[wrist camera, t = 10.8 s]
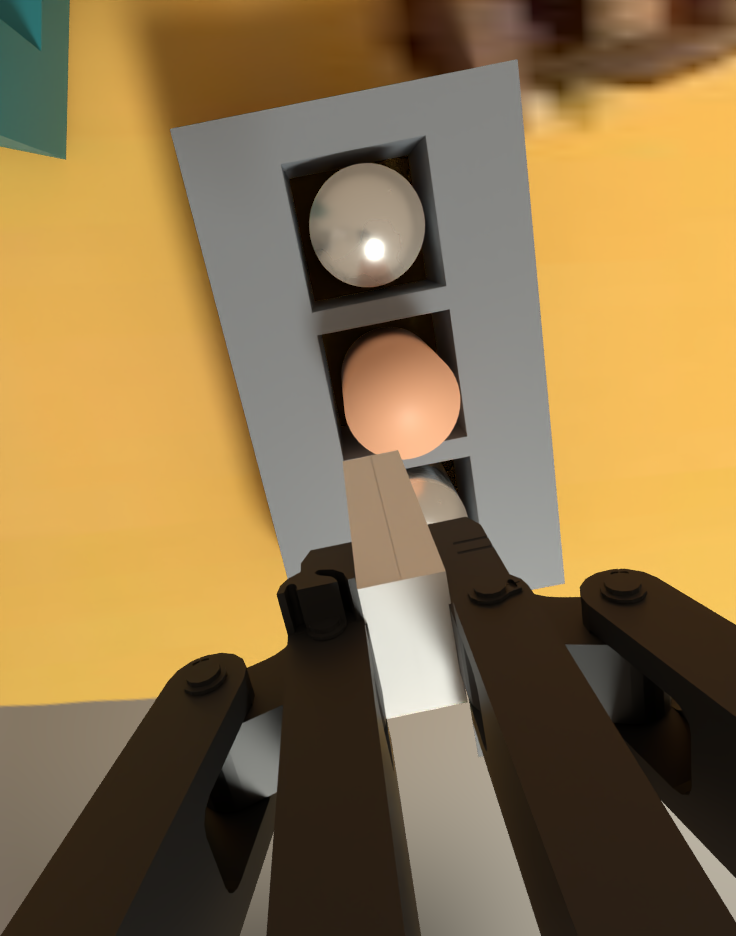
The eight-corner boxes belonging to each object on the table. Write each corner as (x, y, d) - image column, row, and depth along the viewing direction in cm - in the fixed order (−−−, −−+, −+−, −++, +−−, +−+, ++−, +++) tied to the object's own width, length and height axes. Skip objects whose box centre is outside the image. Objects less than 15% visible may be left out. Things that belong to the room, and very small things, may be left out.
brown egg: (351, 429, 33) (356, 469, 27) (332, 337, 31) (333, 358, 25) (442, 411, 32) (467, 447, 27) (428, 318, 31) (451, 334, 25)
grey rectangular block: (306, 577, 39) (302, 634, 33) (199, 150, 31) (169, 128, 25) (530, 534, 39) (564, 583, 33) (482, 94, 30) (517, 59, 25)
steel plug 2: (372, 527, 37) (380, 580, 32) (357, 452, 36) (362, 493, 30) (451, 512, 37) (474, 561, 32) (439, 436, 36) (461, 473, 30)
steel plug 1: (323, 288, 33) (322, 297, 27) (303, 188, 31) (297, 175, 25) (414, 269, 33) (432, 275, 27) (398, 170, 31) (415, 152, 25)
